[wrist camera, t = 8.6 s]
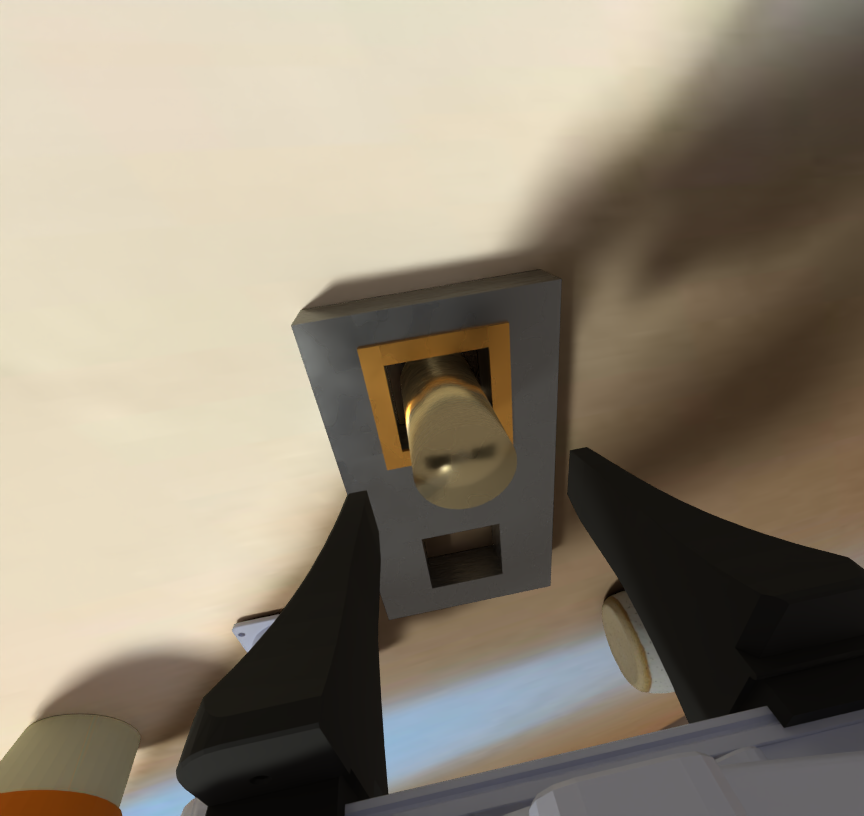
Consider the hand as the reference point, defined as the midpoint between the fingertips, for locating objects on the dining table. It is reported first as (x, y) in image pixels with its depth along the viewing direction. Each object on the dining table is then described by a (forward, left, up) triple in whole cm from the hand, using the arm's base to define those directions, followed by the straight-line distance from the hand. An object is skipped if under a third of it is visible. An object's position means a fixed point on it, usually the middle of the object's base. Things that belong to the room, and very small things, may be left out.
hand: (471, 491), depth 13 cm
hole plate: (-6, 0, -9) cm, 11 cm away
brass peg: (0, 0, -9) cm, 9 cm away
